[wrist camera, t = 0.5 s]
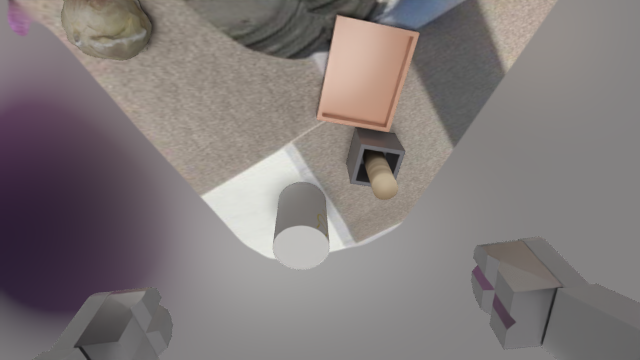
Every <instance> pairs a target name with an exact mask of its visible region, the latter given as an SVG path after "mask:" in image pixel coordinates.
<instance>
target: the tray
mask: <svg viewBox="0 0 640 360" xmlns="http://www.w3.org/2000/svg"><path fill="white" fill-rule="evenodd" d="M418 37H419V32H416V31H412V30H408V29H403V28H398V27H394V26H389V25H384V24H380V23H375V22H370V21H366V20H361V19H356V18H352V17H347V16H342V15H337V14H336V17H335V22H334V28H333V33H332V38H331V43H330V48H329V53H328V58H327V64H326V69H325V74H324V79H323V84H322V89H321V94H320V99H319V105H318V110H317V120H322V121H328V122H333V123H339V124H345V125H351V126H356V127H362V128H368V129H373V130H379V131H385V132H389V130H390V127H391V124H392V121H393V117H394V114H395V111H396V108H397V104H398V101H399V98H400V95H401V91H402V88H403V85H404V82H405V79H406V75H407V72H408V69H409V66H410V62H411V59H412V56H413V53H414V49H415V46H416V43H417V40H418Z"/></svg>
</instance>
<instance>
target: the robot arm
mask: <svg viewBox="0 0 640 360" xmlns="http://www.w3.org/2000/svg"><path fill="white" fill-rule="evenodd" d="M473 258H474V260H475V261H476V263H477V266H476V267H475V269H474V270H473V271H472V279H471V282H472V288H473V293H474V295H475V298H476V301H477V302H478V304H479V306H480V308H481V309H482V310H483V311H485V312H486V313H488V314H489V315H491V319H490V326H491V328H492V330H493V331H494V333H495V335H496V337H497V338H498V340H499V342H500V344H501V345H502V347H503V349H514V348H525V347H537V346H542V348H543V349H544V350H545V351H546V352H548V353H549V354H551V355H552V356H553V357H554V358H556V359H557V360H640V303H639V302H637V301H635V300H632V299H630V298H628V297H625V296H623V295H621V294H619V293H616V292H615V291H612V290H610V289H608V288H605V287H603V286H601V285H599V284H589V283H588V282H587V281H586V280H585V279H584V278H583V277H582V276H581V275H580V274H579V273H578V272H577V271H576V270H575V269H574V268H573V267H572V266H571V265H570V264H569V263H568V262H567V261H566V260H565V259H564V258H563V257H562V256H561V255H560V254H559V253H558V252H557V251H556V250H555V249H554V248H553V247H552V246H551V245H550V244H549V243H548V242H547V241H546V240H545V239H544V238H542V237H539V236H538V237H532V238H525V239H518V240H512V241H505V242H497V243H491V244H483V245H477V246H476V247H475V249H474V256H473ZM160 300H161V295H160V293H159V292H158V290H157V288H152V287H148V288H139V289H129V290H119V291H114V292H105V293H95V294H94V295H92V296H90V297H89V298H88V299H87V300H86V302H85V303H84V304H83V306H82V307H81V309H80V310H79V312H78V313H77V314H76V315H75V317H74V318H73V320H72V321H71V322H70V324H69V325H68V326H67V328H66V329H65V331H64V332H63V333H62V335H61V336H60V337H59V339H58V340H57V341H56V343H55V344H54V345H53V347H52V348H51V350H50V351H46V352H42V353H41V354H39V355H38V356H37V357H35V358H34V359H32V360H159V357H158V356H159V355H160V354H161V353H162V352H163V351H164V350H165V349H166V348H167V347H168V345H169V342H170V340H171V337H172V327H173V324H172V319H171V315H170V313H169V311H168V310H167V309H166V308H164V307H163V306H161V305H159V303H160Z"/></svg>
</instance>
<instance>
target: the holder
mask: <svg viewBox="0 0 640 360" xmlns="http://www.w3.org/2000/svg"><path fill="white" fill-rule="evenodd" d="M364 149H370V150H376V151H382V152H383V154H384V156H385V158H386V160H387V163H388V165H389V167H390V169H391V171H392V174H393V176H394V178H395V180H396V178H397V175H398V172H399V169H400V166H401V163H402V160H403V157H404V154H405V150H404V148H403V146H402V145H401V143H400V141H399V140H398V138H397V136H396V135H395V134H394V133H388V132H382V131H376V130H371V129H365V128H359V127H355V131H354V135H353V139H352V143H351V146H350V150H349V154H348V158H347V162H346V165H347V169H348V174H349V179H350V183H351V184H357V185H364V186H370V187H372V186H371V183H370V180H369V177H368V174H367V171H366V168H365V164H364V161H363V158H362V156H363V152H364Z"/></svg>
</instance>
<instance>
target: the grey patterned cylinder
mask: <svg viewBox="0 0 640 360" xmlns="http://www.w3.org/2000/svg"><path fill="white" fill-rule="evenodd" d="M273 253H274V255H275V257H276V258H277V260H278V261H279V262H281V263H282V264H283V265H285V266H287V267H289V268H293V269H309V268H313V267H315V266H317V265H319V264H321V263H322V262H323V261H324V260H325V259H326V257H327V256H328V253H329V235H328V223H327V211H326V200H325V196H324V194H323V192H322V191H321V190H320V189H319V188H318V187H317V186H315V185H313V184H310V183H305V182H299V183H294V184H291V185H289V186H288V187H286V188H285V189H284V190H283V191H282V193H281V195H280V197H279V203H278V211H277V218H276V226H275V233H274V241H273Z"/></svg>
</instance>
